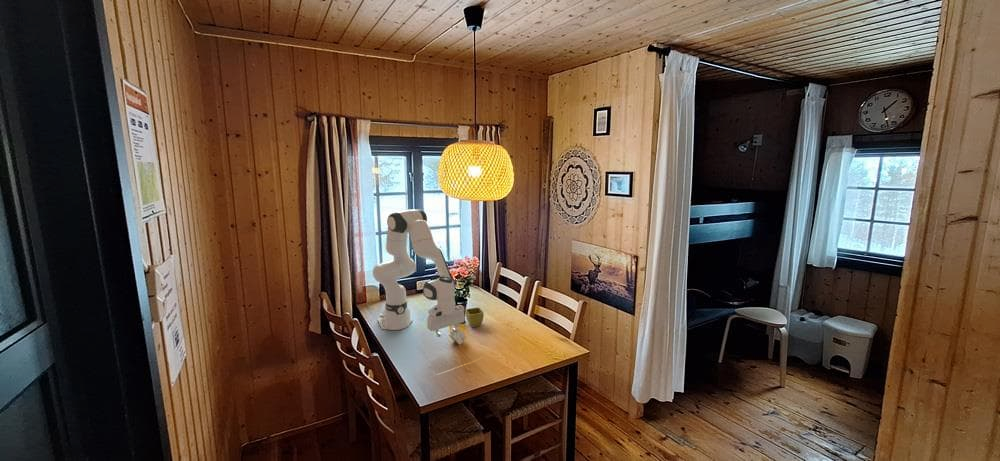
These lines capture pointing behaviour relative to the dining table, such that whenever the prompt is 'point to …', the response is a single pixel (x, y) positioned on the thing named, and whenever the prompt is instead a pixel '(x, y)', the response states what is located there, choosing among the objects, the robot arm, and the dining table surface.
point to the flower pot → (474, 316)
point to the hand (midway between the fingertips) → (446, 334)
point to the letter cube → (458, 336)
